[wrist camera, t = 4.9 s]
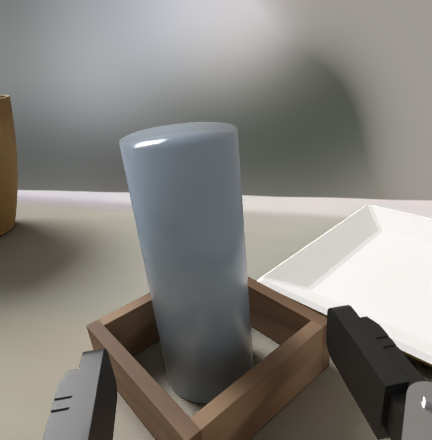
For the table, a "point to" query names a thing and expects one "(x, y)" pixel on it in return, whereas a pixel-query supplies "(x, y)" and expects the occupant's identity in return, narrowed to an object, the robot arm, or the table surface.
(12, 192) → the plant pot
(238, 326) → the cylinder
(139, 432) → the table surface
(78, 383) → the robot arm
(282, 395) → the holder
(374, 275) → the plate
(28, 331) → the table surface
